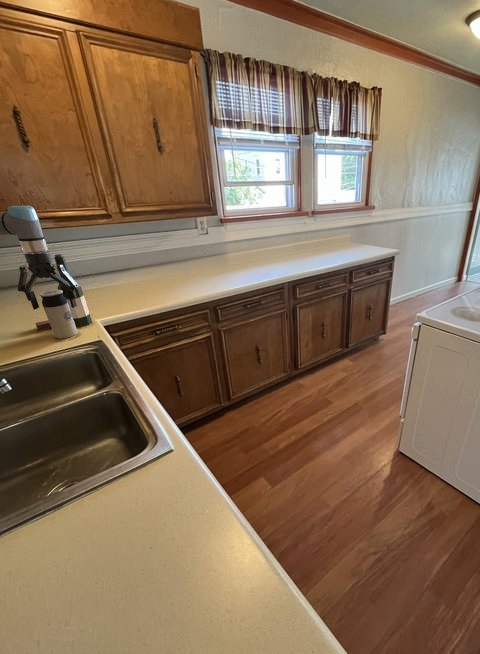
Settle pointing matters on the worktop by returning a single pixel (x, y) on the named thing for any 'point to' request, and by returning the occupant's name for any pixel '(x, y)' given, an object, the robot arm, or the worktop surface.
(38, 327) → the granola bar
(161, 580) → the worktop surface
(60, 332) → the travel mug
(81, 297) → the wine bottle
